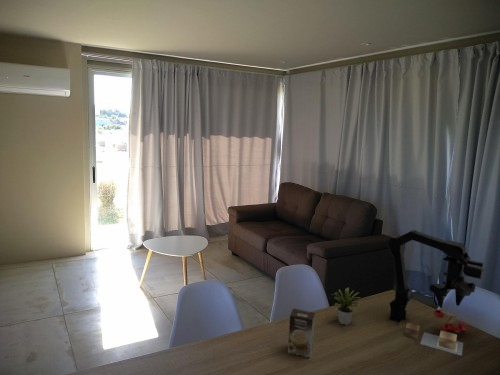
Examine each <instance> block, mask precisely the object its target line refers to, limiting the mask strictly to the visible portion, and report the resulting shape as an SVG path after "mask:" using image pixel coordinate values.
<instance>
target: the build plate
mask: <svg viewBox="0 0 500 375" xmlns="http://www.w3.org/2000/svg"><path fill="white" fill-rule="evenodd" d="M439 336H440V335H436V334H432V333H427V332H423V334H422V337H421V340H420V343H419V344H420V345H423V346H427V347H431V348H433V349H437V350H440V351H444V352H447V353H451V354H454V355H458V356H463V348H464V342H461V341H458V340H456V347H455V350H451V349H448V348H444V347H441V346H438V345H439Z"/></svg>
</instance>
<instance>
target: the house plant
mask: <svg viewBox="0 0 500 375" xmlns="http://www.w3.org/2000/svg"><path fill="white" fill-rule="evenodd" d="M354 292H355V290H351V292H350V287H349V286H348V287H346V288H345V291H344V293H343V292H342V291H341V290H340V289H338V291H336V292H334V293H333V294H332V293H331V295H332V296H333V295H335V296H334V299H335V300H337V301H338V302H339V303H338V302H335V303H334V307H337V306H338V307H337V317H338V323H339V322H340V323H339V324H341V325H343V324H345V325H344V326H348V324H349V325H350V324H351V323H352V322H351V321H352V317H353V314H354V309H353V307H358V308H360V306H361V304H360V303H359V302H358V301H359V299H360V298H361V297H356V296H357V295H358V294H360V292H355V293H354ZM353 293H354V294H353ZM343 294H344V295H343ZM352 294H353V295H352ZM351 295H352V296H351ZM356 301H357V302H356ZM360 301H362V302H364V300H361V299H360Z"/></svg>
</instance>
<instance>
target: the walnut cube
mask: <svg viewBox="0 0 500 375" xmlns="http://www.w3.org/2000/svg"><path fill="white" fill-rule="evenodd" d="M420 328H421V325H419V324H416V323H415V324H414V323H410V322H407V324H406V326H405V330H404V336H405V337H409V338H411V339H415V340H419V336H420Z"/></svg>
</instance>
